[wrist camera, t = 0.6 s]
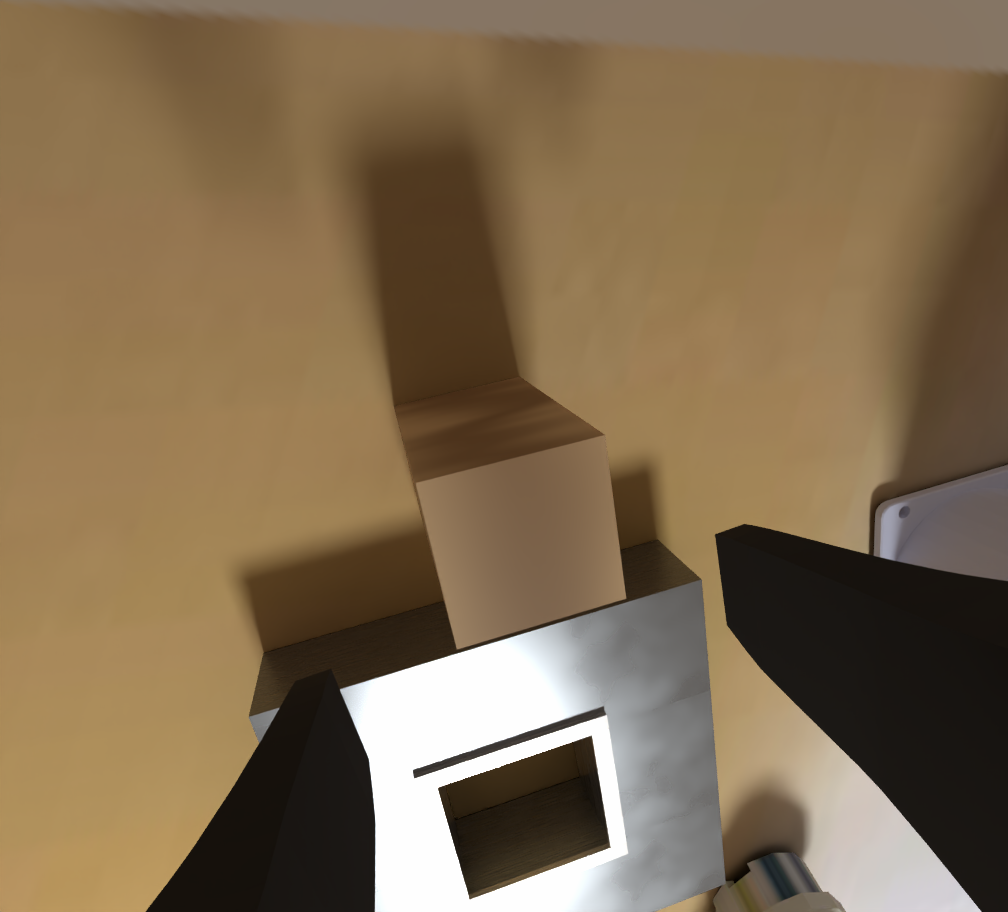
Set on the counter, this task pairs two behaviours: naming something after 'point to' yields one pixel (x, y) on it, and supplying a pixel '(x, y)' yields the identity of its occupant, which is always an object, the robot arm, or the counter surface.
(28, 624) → the counter surface
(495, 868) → the grey socket base
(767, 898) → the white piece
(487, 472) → the oak peg
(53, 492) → the counter surface
